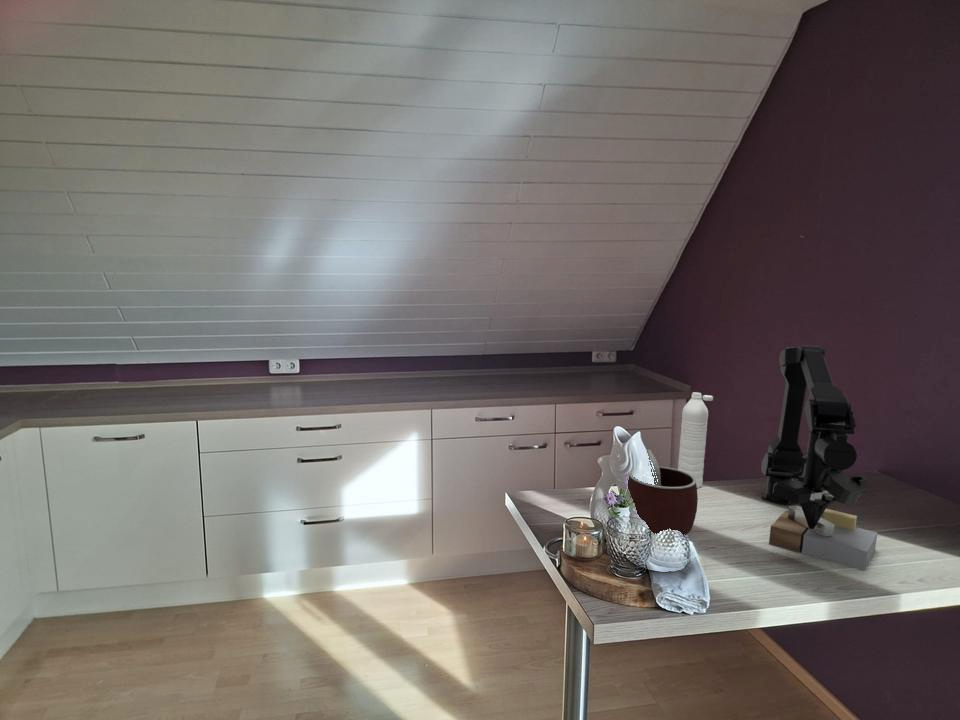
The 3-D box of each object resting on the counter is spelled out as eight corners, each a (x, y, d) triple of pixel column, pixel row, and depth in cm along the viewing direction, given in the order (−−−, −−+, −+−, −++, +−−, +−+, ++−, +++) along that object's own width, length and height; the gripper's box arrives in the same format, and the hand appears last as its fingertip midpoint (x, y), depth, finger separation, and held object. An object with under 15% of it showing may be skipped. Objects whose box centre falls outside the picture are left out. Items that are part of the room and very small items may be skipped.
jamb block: (784, 526, 150) (785, 510, 150) (812, 534, 147) (814, 517, 146) (768, 544, 141) (770, 526, 140) (799, 552, 137) (801, 534, 137)
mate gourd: (703, 574, 127) (712, 474, 124) (633, 575, 126) (640, 474, 122) (673, 539, 142) (680, 449, 139) (610, 540, 141) (616, 449, 138)
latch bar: (784, 515, 146) (785, 505, 145) (796, 514, 147) (797, 504, 146) (821, 536, 135) (823, 525, 135) (834, 535, 136) (836, 524, 136)
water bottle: (671, 481, 178) (678, 390, 174) (691, 479, 181) (698, 389, 177) (692, 492, 170) (700, 397, 166) (713, 490, 173) (721, 396, 169)
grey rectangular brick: (815, 535, 146) (818, 506, 145) (874, 550, 139) (878, 520, 138) (801, 553, 137) (805, 523, 136) (864, 570, 130) (869, 539, 129)
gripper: (823, 471, 124) (811, 550, 126) (890, 465, 131) (878, 539, 134) (776, 453, 134) (766, 527, 136) (840, 448, 141) (830, 518, 144)
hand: (811, 528), depth 137 cm, fingers closed
